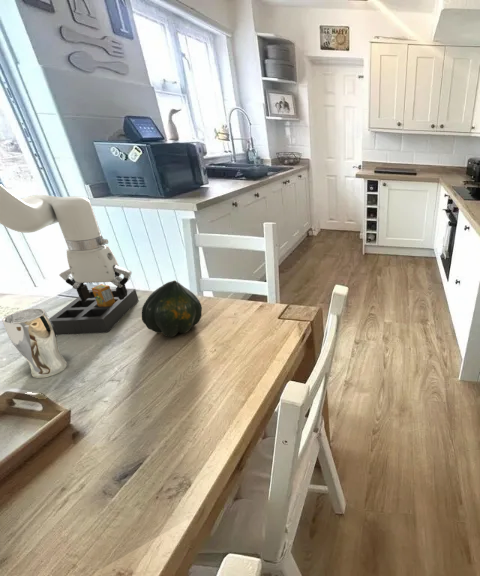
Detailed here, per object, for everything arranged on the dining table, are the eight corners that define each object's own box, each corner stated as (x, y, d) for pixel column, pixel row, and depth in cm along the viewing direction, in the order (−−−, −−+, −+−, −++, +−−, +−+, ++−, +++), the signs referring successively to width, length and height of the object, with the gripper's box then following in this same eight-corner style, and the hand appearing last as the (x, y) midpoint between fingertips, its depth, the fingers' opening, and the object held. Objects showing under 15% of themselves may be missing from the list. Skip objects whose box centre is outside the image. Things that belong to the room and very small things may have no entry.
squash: (133, 334, 82) (169, 285, 84) (128, 311, 93) (160, 268, 94) (187, 351, 92) (218, 307, 94) (178, 329, 103) (206, 289, 104)
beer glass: (39, 363, 79) (12, 309, 72) (75, 358, 81) (52, 306, 74) (22, 382, 73) (-8, 326, 66) (62, 376, 75) (36, 321, 69)
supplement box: (100, 317, 98) (90, 287, 93) (111, 312, 101) (102, 283, 96) (109, 319, 97) (99, 289, 93) (120, 314, 100) (111, 285, 96)
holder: (51, 335, 88) (45, 321, 87) (92, 302, 105) (87, 289, 103) (107, 332, 91) (102, 318, 89) (138, 300, 108) (135, 288, 106)
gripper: (128, 239, 94) (143, 291, 102) (57, 239, 90) (78, 293, 98) (114, 247, 87) (132, 303, 95) (37, 248, 84) (62, 305, 91)
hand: (105, 298), depth 96 cm, fingers open, 9 cm apart
